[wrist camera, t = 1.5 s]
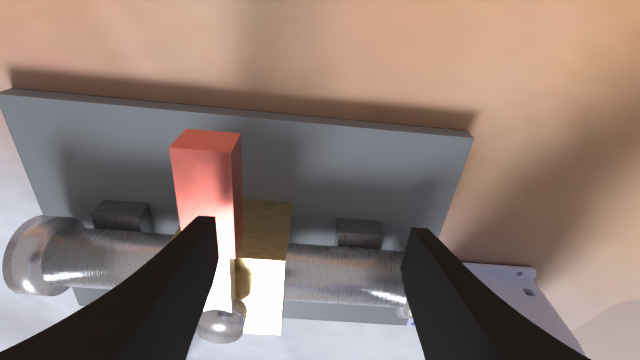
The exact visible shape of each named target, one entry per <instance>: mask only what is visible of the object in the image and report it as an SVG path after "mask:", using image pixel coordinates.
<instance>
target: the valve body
mask: <svg viewBox="0 0 640 360" xmlns="http://www.w3.org/2000/svg"><path fill="white" fill-rule="evenodd" d="M242 201H243V235H242V238H241V241H240V245H239V248H238V251H237V255H236V258H235V259H234V269H235V292H236V297H237V298H239V299H240V300H242V301H243V302H244V303H245V305H246V307H247V317H246V321H245V326H244V330H243V333H251V334H268V335H281V326H282V317H283V308H284V300H286V301H302V302H318V303H333V304H349V305H365V306H380V307H393V308H394V311H395V313H396V315H397V316H398V317H399V318H410V319H413V317H412V314H411V311H410V308H409V305H408V302H407V298H406V295H405V291H404V286H403V281H402V275H401V269H400V266H401V263H402V259H403V256H404V252H405V249H406V245H407V242H399V243H397V245H396V246H395V248H394V250H381V247H382V243H383V239H384V233H383V229H382V225H381V221H374V220H361V219H348V218H338V223H337V229H336V236H335V242H334V246H327V245H313V244H299V243H289V242H290V228H291V213H292V202H283V201H270V200H257V199H245V198H242ZM90 215H91V218H92V222H93V225H94V228H95V229H94V228H85V226H84V224H83V223H82V222H81V221H80V220H78V219H77V218H74V217H62V216H48V215H40V216H36V217H33V218H31V219H29V220H28V221H26V222H25V223H23V224H22V225H21V226H20V227H19V228H18V229H17V231H16V232H15V233H14V234H13V236H12V238H11V239H10V241H9V243H8V245H7V247H6V250H5V253H4V257H3V265H2V270H3V277H4V280H5V282H6V284H7V286H8V287H9V288H10V289H11V290H12V291H13V292H15V293H18V294H24V295H40V296H56V295H59V294H61V293H63V292H65V291H66V290H67V289H69V288H70V287H83V288H98V289H113V288H114V287H115V286H117V285H118V284H120V283H121V282H122V281H124V280H125V279H126V278H128V277H129V276H130V275H132V274H133V273H134V272H135V271H137V270H138V269H139V268H140V267H141V266H143V265H144V264H145V263H146V262H148V261H149V260H150V259H151V258H152V257H154V256H155V255H156V254H157V253H158V252H159V251H160V250H161V249H163V248H164V247H165V246H166V245H167V244H168V243H169V242H170V241H171V240H172V239H173V238H175V237H176V236H177V235H178V234H179V233H180V232H181V228H180V225H179V227H178V229H177V230H176V232H175V234H163V233H155V230H154V225H153V219H152V214H151V209H150V204H149V203H143V202H130V201H117V200H103V201H102V202H101V203H100V204H99V205H98V206H97V207H96V208H95V209H94V210H93V211H92V212H91V213H90Z"/></svg>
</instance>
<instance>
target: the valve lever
mask: <svg viewBox="0 0 640 360" xmlns="http://www.w3.org/2000/svg"><path fill="white" fill-rule="evenodd" d="M169 151H170V158H171V165H172V172H173V179H174V186H175V193H176V200H177V207H178V214H179V221H180V228H181V231H182V230H183V229H184V228H185V227H186V226H187V225H188V224H189V223H190V222H191V221H192V220H193V219H194V218H196V217H197V216H215V220H216V230H217V239H218V249H219V262H218V267H217V271H216V275H215V279H214V283H213V286H212V289H211V291H210V294H209V297H208V299H207V302H206V305H205V307H204V310H203V312H202V315H201V318H200V320H199V323H198V326H197V328H196V331H195V332H196V333H197V334H198V335H199V336H200V337H201V338H203V339H205V340H207V341H209V342H213V343H220V344H224V343H231V342H234V341H236V340H238V339H239V338H240V337H241V336H242V334H243V330H244V326H245V321H246V317H247V307H246V305H245V303H244V302H243V301H242V300H240V299H239V298H237V297H236V292H235V269H234V259H235V258H236V255H237V251H238V248H239V245H240V241H241V238H242V235H243V201H242V158H241V133H231V132H220V131H209V130H197V129H185V130H184V131H183V132H182V134H181V135H180V136H179V137H178V138H177V139H176V140H175V141H174V142H173V143H172V144H171V146H170V147H169Z"/></svg>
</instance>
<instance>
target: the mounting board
mask: <svg viewBox="0 0 640 360" xmlns="http://www.w3.org/2000/svg"><path fill="white" fill-rule="evenodd" d="M0 108H1V111H2V113H3V116H4V118H5V121H6V123H7V126H8V128H9V131H10V133H11V136H12V138H13V141H14V143H15V146H16V148H17V151H18V153H19V156H20V158H21V161H22V163H23V166H24V168H25V171H26V173H27V176H28V178H29V181H30V183H31V186H32V188H33V191H34V193H35V196H36V198H37V201H38V203H39V206H40V208H41V211H42V213H43V215H48V216H62V217H74V218H77V219H78V220H80V221H81V222H82V223H83V224H84V226H85V228H94V225H93V222H92V218H91V215H90V213H91V212H92V211H93V210H94V209H95V208H96V207H97V206H98V205H99V204H100V203H101V202H102V201H103V200H117V201H130V202H143V203H149V204H150V209H151V214H152V219H153V225H154V230H155V233H163V234H175V232H176V230H177V229H178V227H179V225H180V221H179V214H178V207H177V200H176V193H175V186H174V179H173V172H172V165H171V158H170V151H169V147H170V146H171V144H172V143H173V142H174V141H175V140H176V139H177V138H178V137H179V136H180V135H181V134H182V132H183V131H184V130H185V129H197V130H209V131H220V132H231V133H241V158H242V198H245V199H257V200H270V201H283V202H292V213H291V228H290V242H289V243H299V244H313V245H327V246H334V242H335V236H336V229H337V223H338V218H348V219H361V220H374V221H381V225H382V229H383V233H384V239H383V243H382V247H381V250H394V248H395V246H396V245H397V243H399V242H408V238H409V235H410V231H411V228H412V227H416V228H428V229H429V230H430V231H431V232H432V233H433V234H434V235H435V236H436V237H437V238H438V237H439V234H440V231H441V228H442V226H443V223H444V220H445V217H446V214H447V212H448V209H449V206H450V203H451V201H452V198H453V195H454V192H455V190H456V187H457V184H458V181H459V179H460V176H461V173H462V170H463V167H464V165H465V162H466V159H467V156H468V154H469V151H470V148H471V145H472V143H473V140H474V138H473V137H472V136H471V135H470V134H469V133H468V132H467V131H463V130H453V129H442V128H431V127H421V126H410V125H400V124H389V123H378V122H368V121H357V120H346V119H336V118H325V117H314V116H304V115H293V114H282V113H272V112H261V111H250V110H240V109H229V108H218V107H208V106H197V105H186V104H176V103H165V102H154V101H144V100H133V99H122V98H112V97H101V96H90V95H80V94H69V93H58V92H48V91H37V90H26V89H16V88H10V89H7V90H4V91H1V92H0ZM94 229H95V228H94ZM72 288H73V291H74V293H75V296H76V298H77V301H78V303H79V306H86V305H88V304H90V303H91V302H93V301H94V300H96V299H98V298H99V297H101V296H102V295H104V294H105V293H107V292H108V291H110V290H111V289H98V288H83V287H72ZM282 318H292V319H309V320H325V321H341V322H358V323H374V324H391V325H407V322H408V320H409V318H399V317H398V316H397V315H396V313H395V311H394V308H393V307H380V306H365V305H349V304H333V303H318V302H302V301H286V300H284V308H283V317H282Z"/></svg>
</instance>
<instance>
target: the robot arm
mask: <svg viewBox="0 0 640 360" xmlns="http://www.w3.org/2000/svg"><path fill="white" fill-rule="evenodd" d="M218 262H219V249H218V239H217V230H216V220H215V216H197V217H196V218H194V219H193V220H192V221H191V222H190V223H189V224H188V225H187V226H186V227H185V228H184V229H183V230H182V231H181V232H180V233H179V234H178V235H177V236H176V237H175V238H173V239H172V240H171V241H170V242H169V243H168V244H167V245H166V246H165V247H164V248H163V249H161V250H160V251H159V252H158V253H157V254H156V255H155V256H154V257H152V258H151V259H150V260H149V261H148V262H146V263H145V264H144V265H143V266H141V267H140V268H139V269H138V270H137V271H135V272H134V273H133V274H132V275H130V276H129V277H128V278H126V279H125V280H124V281H122V282H121V283H120V284H118V285H117V286H115V287H114V288H113V289H111V290H110V291H108V292H107V293H105V294H104V295H102V296H101V297H99V298H98V299H96V300H94V301H93V302H91V303H90V304H88V305H86V306H85V307H83V308H81V309H80V310H78V311H77V312H75V313H73V314H72V315H70V316H68V317H67V318H65V319H63V320H61V321H60V322H58V323H56V324H54V325H53V326H51V327H49V328H47V329H45V330H43V331H41V332H40V333H38V334H36V335H34V336H32V337H30V338H28V339H26V340H24V341H22V342H20V343H18V344H16V345H14V346H12V347H10V348H8V349H6V350H4V351H2V352H0V360H186V356H187V353H188V350H189V347H190V344H191V341H192V339H193V336H194V333H195V331H196V328H197V326H198V323H199V320H200V318H201V315H202V312H203V310H204V307H205V305H206V302H207V299H208V297H209V294H210V291H211V289H212V286H213V283H214V279H215V275H216V271H217V267H218ZM400 269H401V275H402V281H403V286H404V291H405V295H406V298H407V302H408V305H409V308H410V311H411V314H412V317H413V319H410V318H409V320H408V322H407V325H405V326H407V327H416V330H417V333H418V336H419V339H420V343H421V346H422V349H423V352H424V356H425V360H591V359H589V358H587V357H586V356H585V354H584V352H583V350H582V348H581V346H580V344H579V343H578V341H577V340H576V338H575V337H574V335H573V334H572V333H571V331H570V330H569V328H568V327H567V326H566V324H565V323H564V322H563V320H562V319H561V317H560V316H559V315H558V313H557V312H556V311H555V309H554V308H553V306H552V305H551V304H550V302H549V301H548V300H547V298H546V297H545V295H544V294H543V293H542V291H541V290H540V289H539V287H538V286H537V284H536V283H535V282H534V278H535V277H536V275H537V271H536V270H535V269H534V268H532V267H520V266H506V265H492V264H478V263H464V262H461V261H460V260H459V259H458V258H457V257H456V256H455V255H454V254H453V253H452V252H451V251H450V250H449V249H448V248H447V247H446V246H445V245H444V244H443V243H442V242H441V241H440V240H439V239H438V238H437V237H436V236H435V235H434V234H433V233H432V232H431V231H430V230H429V229H428V228H416V227H412V228H411V231H410V235H409V238H408V242H407V245H406V249H405V252H404V256H403V259H402V263H401V266H400Z"/></svg>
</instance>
